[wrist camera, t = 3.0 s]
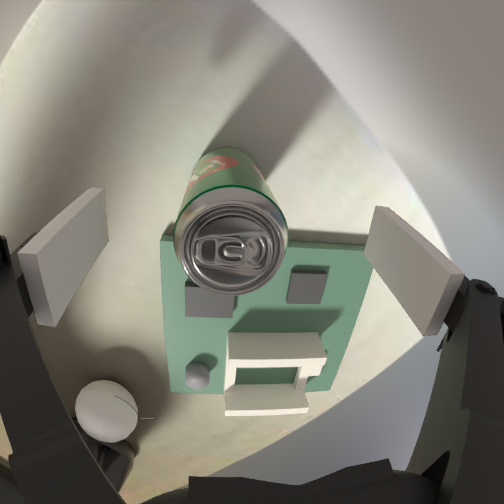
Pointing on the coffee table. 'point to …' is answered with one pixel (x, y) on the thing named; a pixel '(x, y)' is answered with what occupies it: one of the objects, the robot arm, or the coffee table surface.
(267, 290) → the board
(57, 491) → the robot arm
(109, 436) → the seamed sphere
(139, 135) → the coffee table surface
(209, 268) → the soda can
